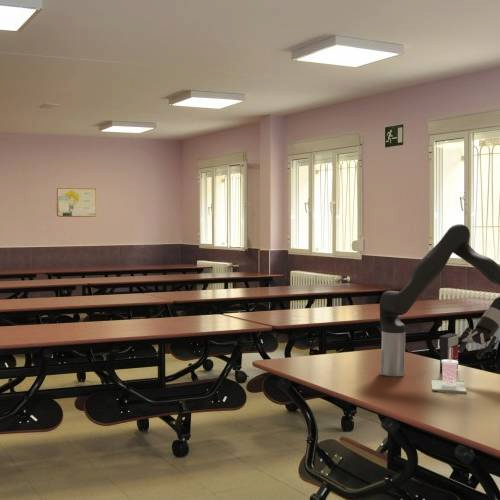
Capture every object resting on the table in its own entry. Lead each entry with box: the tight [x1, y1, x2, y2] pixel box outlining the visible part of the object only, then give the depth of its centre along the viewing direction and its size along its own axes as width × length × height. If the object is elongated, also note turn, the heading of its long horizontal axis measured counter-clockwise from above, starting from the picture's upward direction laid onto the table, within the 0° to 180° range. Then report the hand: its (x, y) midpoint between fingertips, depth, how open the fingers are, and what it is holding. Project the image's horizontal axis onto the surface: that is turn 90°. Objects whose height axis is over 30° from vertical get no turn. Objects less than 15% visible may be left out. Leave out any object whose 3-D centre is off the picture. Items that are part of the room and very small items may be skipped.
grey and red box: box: [438, 332, 459, 374], centre depth 296 cm, size 11×4×15 cm, turn 143°
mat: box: [431, 378, 467, 395], centre depth 270 cm, size 12×18×1 cm, turn 167°
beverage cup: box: [441, 347, 459, 386], centre depth 270 cm, size 6×6×14 cm
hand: (468, 354), depth 278 cm, fingers open, 8 cm apart
